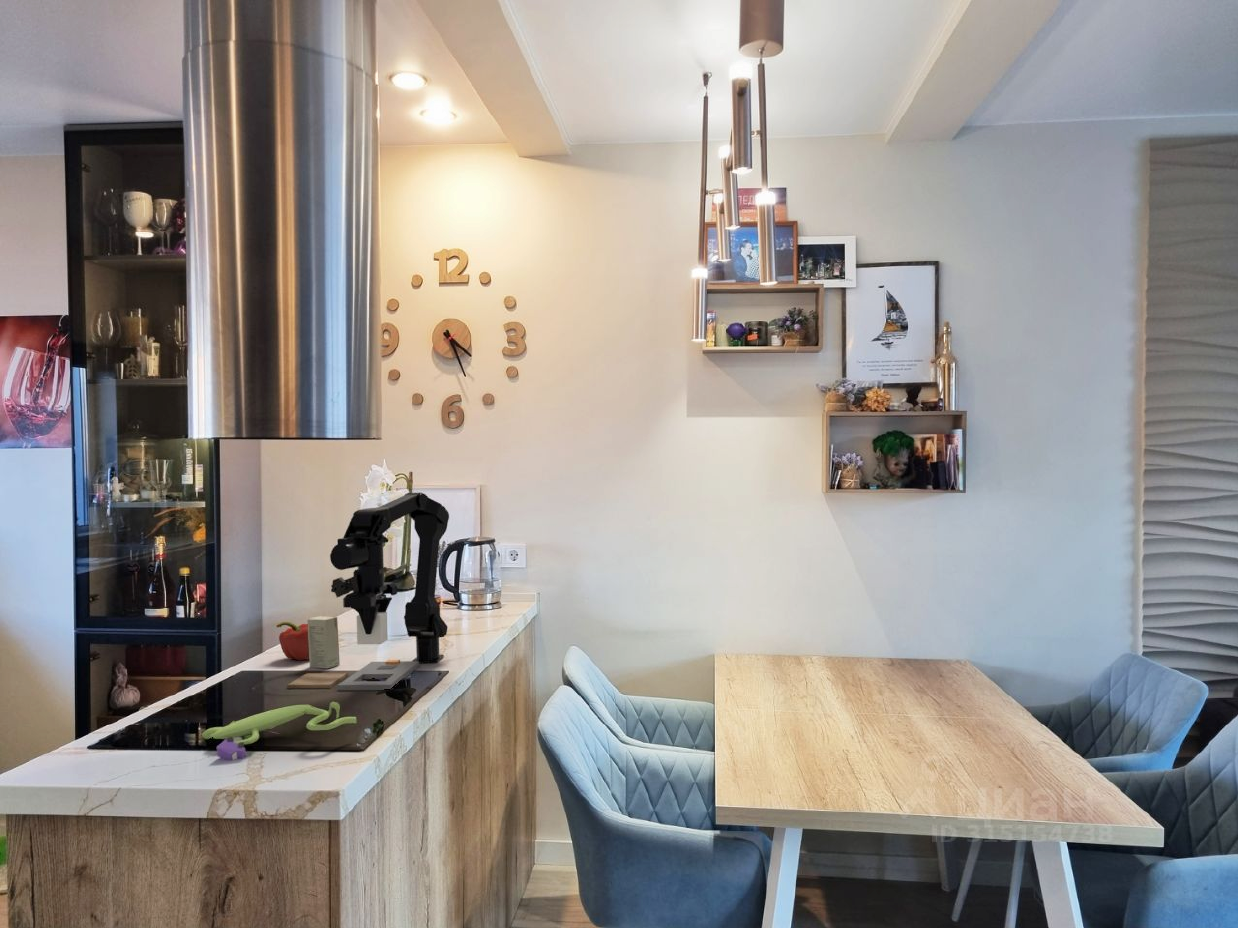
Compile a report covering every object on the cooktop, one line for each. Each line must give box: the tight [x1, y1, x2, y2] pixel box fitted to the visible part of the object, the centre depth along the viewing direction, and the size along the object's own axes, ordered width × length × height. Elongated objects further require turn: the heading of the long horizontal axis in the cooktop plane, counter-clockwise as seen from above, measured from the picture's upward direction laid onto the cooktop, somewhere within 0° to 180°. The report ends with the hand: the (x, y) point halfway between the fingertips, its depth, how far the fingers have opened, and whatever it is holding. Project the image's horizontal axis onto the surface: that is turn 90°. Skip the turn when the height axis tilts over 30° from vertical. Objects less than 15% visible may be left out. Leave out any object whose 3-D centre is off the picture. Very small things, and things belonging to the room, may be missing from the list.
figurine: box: [201, 701, 358, 761], centre depth 149 cm, size 18×27×6 cm
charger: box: [356, 611, 389, 645], centre depth 187 cm, size 4×6×6 cm
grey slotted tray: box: [337, 659, 420, 691], centre depth 191 cm, size 21×12×2 cm, turn 177°
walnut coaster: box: [286, 672, 349, 689], centre depth 189 cm, size 10×10×1 cm
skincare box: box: [307, 615, 341, 669], centre depth 204 cm, size 6×4×12 cm
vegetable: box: [276, 621, 309, 661], centre depth 212 cm, size 11×10×10 cm
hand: (372, 631), depth 187 cm, fingers closed on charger, 4 cm apart
